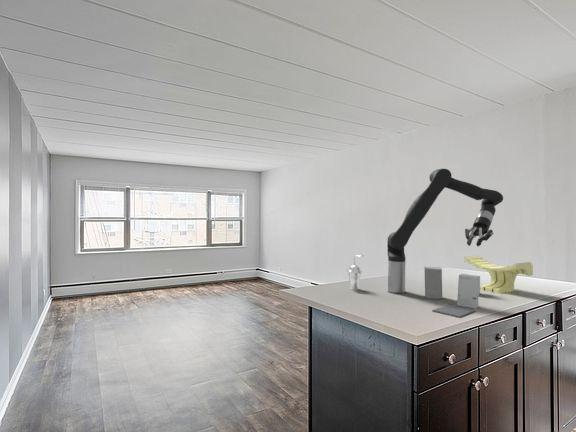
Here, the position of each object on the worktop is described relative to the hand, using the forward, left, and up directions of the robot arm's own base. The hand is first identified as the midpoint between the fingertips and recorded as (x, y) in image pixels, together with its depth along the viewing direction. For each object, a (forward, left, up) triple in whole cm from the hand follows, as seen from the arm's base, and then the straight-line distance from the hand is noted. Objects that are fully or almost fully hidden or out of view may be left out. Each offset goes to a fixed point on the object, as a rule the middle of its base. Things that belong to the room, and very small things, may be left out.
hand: (473, 244), depth 176 cm
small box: (+3, +16, -28) cm, 32 cm away
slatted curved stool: (+19, +31, -28) cm, 46 cm away
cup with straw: (-60, +7, -28) cm, 66 cm away
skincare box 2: (-5, -14, -28) cm, 32 cm away
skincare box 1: (-19, -1, -28) cm, 34 cm away
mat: (-13, -26, -28) cm, 40 cm away
